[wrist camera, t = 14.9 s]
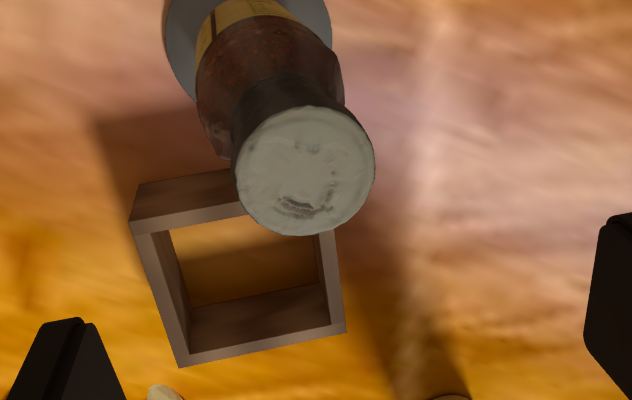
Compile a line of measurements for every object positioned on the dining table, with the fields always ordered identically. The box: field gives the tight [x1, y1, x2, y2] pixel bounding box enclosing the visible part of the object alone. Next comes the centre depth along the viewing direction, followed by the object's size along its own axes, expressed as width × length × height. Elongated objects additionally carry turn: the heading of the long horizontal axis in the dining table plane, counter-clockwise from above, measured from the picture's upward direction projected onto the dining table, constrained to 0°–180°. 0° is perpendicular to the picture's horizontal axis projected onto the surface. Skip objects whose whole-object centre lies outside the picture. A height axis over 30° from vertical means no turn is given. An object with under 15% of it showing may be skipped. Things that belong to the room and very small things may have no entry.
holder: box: [128, 168, 347, 368], centre depth 36 cm, size 12×12×5 cm
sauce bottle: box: [195, 0, 375, 236], centre depth 23 cm, size 7×6×20 cm
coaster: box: [165, 0, 332, 103], centre depth 32 cm, size 10×10×1 cm
